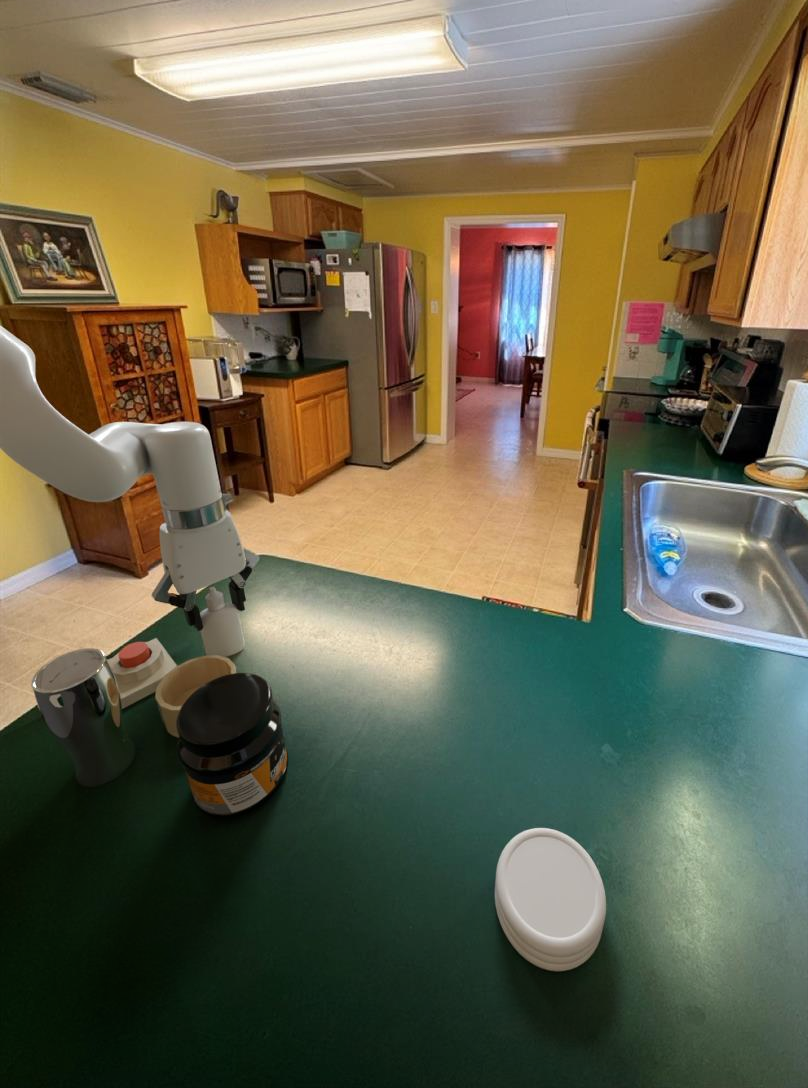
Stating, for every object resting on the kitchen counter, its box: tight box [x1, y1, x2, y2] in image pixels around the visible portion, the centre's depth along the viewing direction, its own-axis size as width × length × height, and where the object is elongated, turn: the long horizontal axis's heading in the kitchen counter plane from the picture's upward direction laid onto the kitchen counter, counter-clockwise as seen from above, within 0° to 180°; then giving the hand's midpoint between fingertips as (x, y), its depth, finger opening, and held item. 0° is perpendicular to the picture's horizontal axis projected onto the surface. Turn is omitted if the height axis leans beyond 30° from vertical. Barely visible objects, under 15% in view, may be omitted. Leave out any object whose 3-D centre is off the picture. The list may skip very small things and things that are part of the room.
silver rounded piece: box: [30, 647, 137, 788], centre depth 55 cm, size 7×7×15 cm
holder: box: [154, 654, 238, 738], centre depth 64 cm, size 10×10×5 cm
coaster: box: [494, 827, 607, 972], centre depth 44 cm, size 10×10×4 cm
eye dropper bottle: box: [200, 586, 246, 658], centre depth 73 cm, size 4×6×12 cm
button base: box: [107, 637, 178, 710], centre depth 70 cm, size 10×8×4 cm
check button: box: [118, 641, 150, 668], centre depth 69 cm, size 4×4×2 cm
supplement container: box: [176, 672, 289, 821], centre depth 53 cm, size 10×10×12 cm
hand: (218, 615), depth 73 cm, fingers closed on eye dropper bottle, 5 cm apart
